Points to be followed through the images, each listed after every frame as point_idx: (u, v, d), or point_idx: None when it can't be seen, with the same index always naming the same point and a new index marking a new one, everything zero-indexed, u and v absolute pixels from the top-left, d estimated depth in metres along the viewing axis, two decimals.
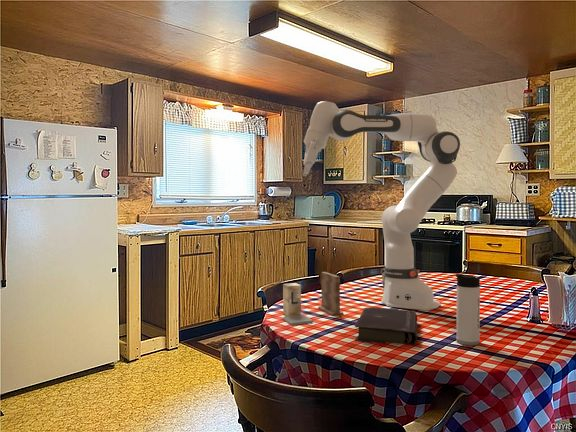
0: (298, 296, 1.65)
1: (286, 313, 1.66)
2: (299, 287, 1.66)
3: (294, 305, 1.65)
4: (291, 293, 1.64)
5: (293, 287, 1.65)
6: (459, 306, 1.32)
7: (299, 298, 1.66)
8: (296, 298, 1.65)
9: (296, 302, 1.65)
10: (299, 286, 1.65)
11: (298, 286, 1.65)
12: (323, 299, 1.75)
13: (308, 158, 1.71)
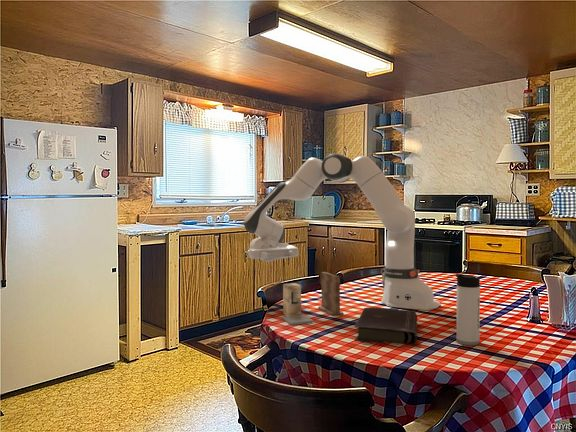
0: (298, 296, 1.65)
1: (286, 313, 1.66)
2: (299, 287, 1.66)
3: (294, 305, 1.65)
4: (291, 293, 1.64)
5: (293, 287, 1.65)
6: (459, 306, 1.32)
7: (299, 298, 1.66)
8: (296, 298, 1.65)
9: (296, 302, 1.65)
10: (299, 286, 1.65)
11: (298, 286, 1.65)
12: (323, 299, 1.75)
13: (251, 257, 1.79)
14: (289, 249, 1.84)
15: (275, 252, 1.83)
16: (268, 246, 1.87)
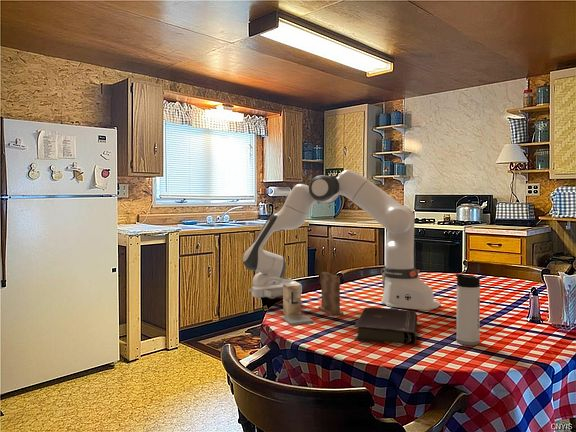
0: (298, 296, 1.65)
1: (286, 313, 1.66)
2: (299, 287, 1.65)
3: (294, 305, 1.65)
4: (291, 293, 1.64)
5: (293, 287, 1.65)
6: (459, 306, 1.32)
7: (299, 298, 1.66)
8: (296, 298, 1.65)
9: (296, 302, 1.65)
10: (299, 286, 1.65)
11: (298, 286, 1.65)
12: (323, 299, 1.75)
13: (254, 295, 1.77)
14: None
15: (278, 290, 1.81)
16: (271, 283, 1.85)
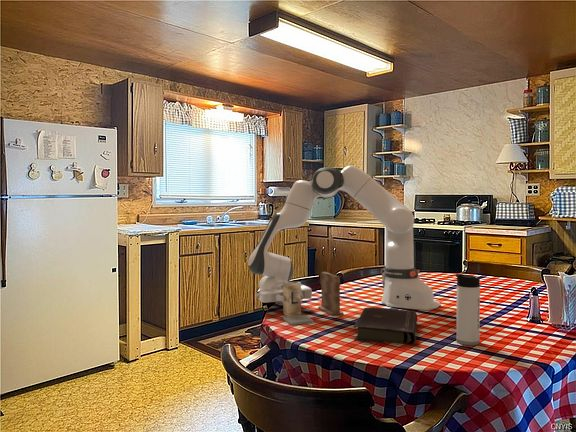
0: (298, 296, 1.65)
1: (286, 313, 1.66)
2: (299, 287, 1.66)
3: (294, 305, 1.65)
4: (291, 293, 1.64)
5: (293, 287, 1.65)
6: (459, 306, 1.32)
7: (299, 298, 1.66)
8: (296, 298, 1.65)
9: (296, 302, 1.65)
10: (299, 286, 1.65)
11: (298, 286, 1.65)
12: (323, 299, 1.75)
13: (262, 300, 1.68)
14: (302, 291, 1.73)
15: None
16: (280, 287, 1.76)
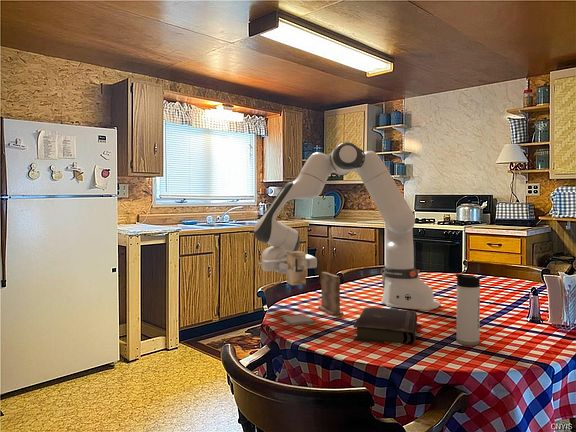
0: (303, 263, 1.57)
1: (290, 282, 1.58)
2: (303, 254, 1.57)
3: (298, 273, 1.57)
4: (295, 260, 1.56)
5: (297, 254, 1.56)
6: (459, 306, 1.32)
7: (304, 266, 1.57)
8: (301, 266, 1.57)
9: (300, 270, 1.57)
10: (303, 253, 1.57)
11: (302, 253, 1.57)
12: (323, 299, 1.75)
13: (265, 269, 1.60)
14: (307, 259, 1.65)
15: None
16: (283, 256, 1.68)
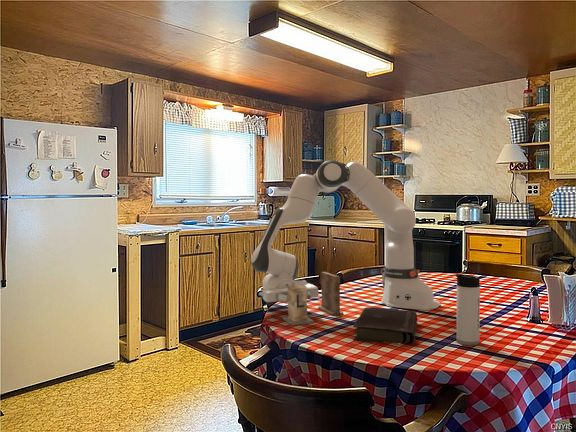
0: (304, 299, 1.56)
1: (291, 317, 1.57)
2: (305, 289, 1.56)
3: (300, 309, 1.56)
4: (296, 296, 1.55)
5: (298, 290, 1.56)
6: (459, 306, 1.32)
7: (305, 301, 1.56)
8: (302, 301, 1.56)
9: (301, 306, 1.56)
10: (305, 288, 1.56)
11: (304, 288, 1.56)
12: (323, 299, 1.75)
13: (266, 300, 1.59)
14: (308, 289, 1.64)
15: None
16: (284, 286, 1.67)
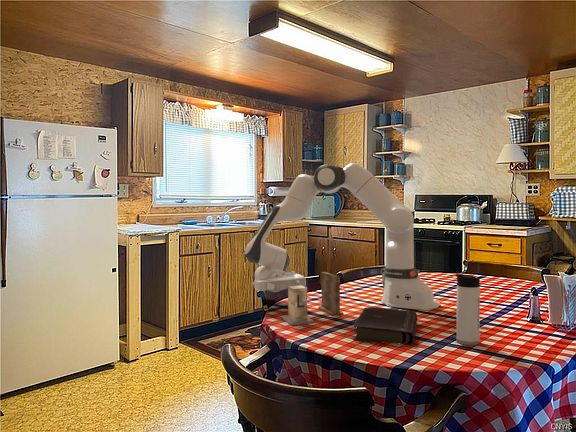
0: (305, 299, 1.56)
1: (292, 317, 1.57)
2: (305, 290, 1.56)
3: (300, 309, 1.56)
4: (297, 296, 1.55)
5: (299, 290, 1.56)
6: (459, 306, 1.32)
7: (305, 301, 1.57)
8: (302, 301, 1.56)
9: (302, 306, 1.56)
10: (305, 289, 1.56)
11: (304, 289, 1.56)
12: (323, 299, 1.75)
13: (257, 289, 1.71)
14: (296, 279, 1.77)
15: (282, 283, 1.75)
16: (274, 276, 1.79)
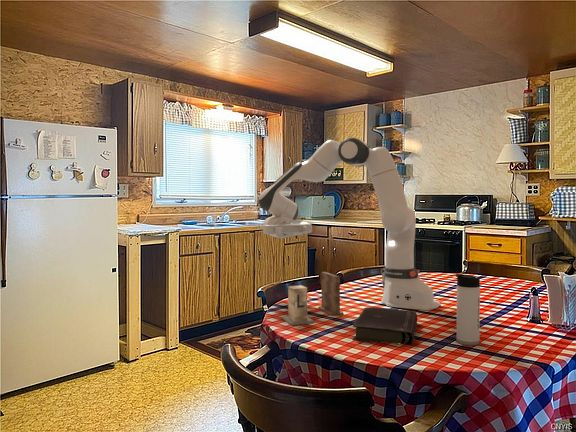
0: (305, 299, 1.56)
1: (292, 317, 1.57)
2: (305, 290, 1.56)
3: (300, 309, 1.56)
4: (297, 296, 1.55)
5: (299, 290, 1.56)
6: (459, 306, 1.32)
7: (305, 301, 1.57)
8: (302, 301, 1.56)
9: (302, 306, 1.56)
10: (305, 289, 1.56)
11: (304, 289, 1.56)
12: (323, 299, 1.75)
13: (266, 232, 1.81)
14: (303, 225, 1.86)
15: (289, 228, 1.85)
16: (282, 222, 1.89)
